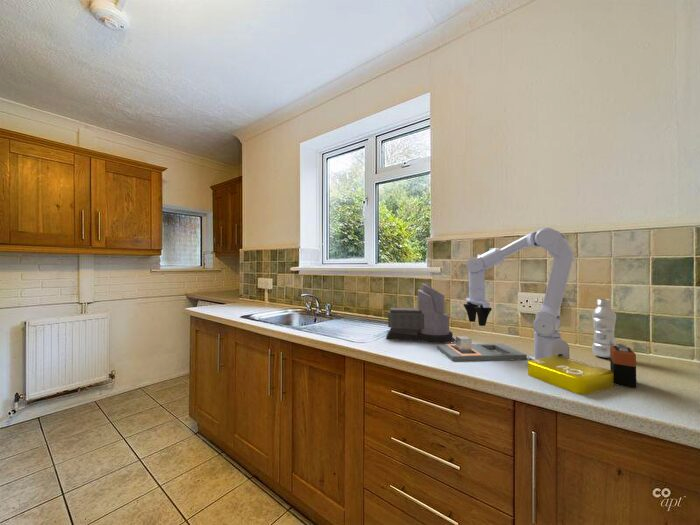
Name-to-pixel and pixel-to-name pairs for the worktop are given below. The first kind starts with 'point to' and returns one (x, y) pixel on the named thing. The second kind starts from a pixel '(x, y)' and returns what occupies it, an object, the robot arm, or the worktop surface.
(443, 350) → the rail plate
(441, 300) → the juicer
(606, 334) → the plastic bottle
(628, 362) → the battery
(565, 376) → the element tile
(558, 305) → the robot arm
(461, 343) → the block
